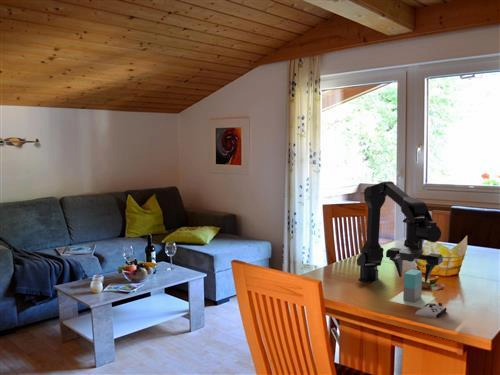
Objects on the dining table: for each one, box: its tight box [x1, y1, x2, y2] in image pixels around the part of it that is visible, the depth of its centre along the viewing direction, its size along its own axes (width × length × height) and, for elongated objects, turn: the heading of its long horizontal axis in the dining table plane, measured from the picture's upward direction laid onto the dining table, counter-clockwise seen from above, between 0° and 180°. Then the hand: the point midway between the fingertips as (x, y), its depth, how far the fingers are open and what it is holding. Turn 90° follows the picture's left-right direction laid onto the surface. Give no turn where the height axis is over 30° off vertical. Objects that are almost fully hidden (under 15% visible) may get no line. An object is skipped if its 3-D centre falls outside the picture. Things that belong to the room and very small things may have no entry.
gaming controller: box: [414, 302, 447, 319], centre depth 158 cm, size 11×6×7 cm
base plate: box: [388, 290, 436, 309], centre depth 171 cm, size 12×14×1 cm
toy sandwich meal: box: [422, 276, 446, 292], centre depth 186 cm, size 12×14×5 cm
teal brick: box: [403, 268, 423, 289], centre depth 170 cm, size 4×7×5 cm, turn 141°
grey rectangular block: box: [403, 284, 423, 303], centre depth 171 cm, size 4×7×5 cm, turn 141°
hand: (413, 279), depth 170 cm, fingers open, 9 cm apart
